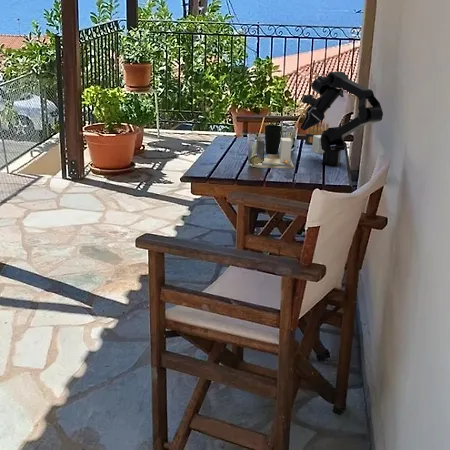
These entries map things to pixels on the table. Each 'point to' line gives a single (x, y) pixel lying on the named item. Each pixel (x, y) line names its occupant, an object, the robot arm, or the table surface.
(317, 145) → the skincare box
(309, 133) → the ammunition clip
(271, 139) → the cup
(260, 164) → the frame
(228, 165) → the table surface
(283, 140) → the gauge slider
